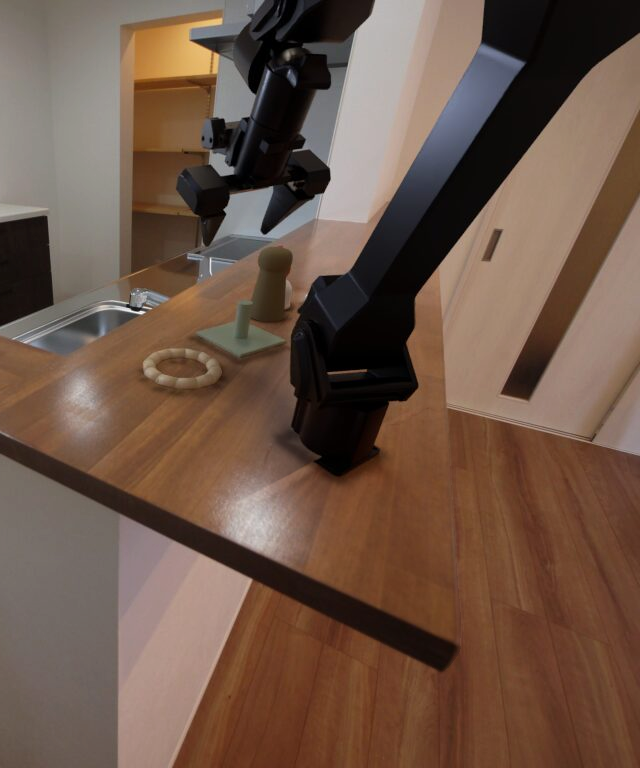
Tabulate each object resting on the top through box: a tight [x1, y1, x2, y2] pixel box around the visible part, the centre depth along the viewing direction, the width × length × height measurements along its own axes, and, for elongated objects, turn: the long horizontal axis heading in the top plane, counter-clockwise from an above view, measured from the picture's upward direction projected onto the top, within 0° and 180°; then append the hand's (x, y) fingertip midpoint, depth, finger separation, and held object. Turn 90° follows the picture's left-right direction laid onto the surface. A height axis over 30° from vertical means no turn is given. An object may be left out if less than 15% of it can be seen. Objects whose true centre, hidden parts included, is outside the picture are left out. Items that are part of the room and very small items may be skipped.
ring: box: [142, 347, 223, 390], centre depth 53 cm, size 10×10×2 cm
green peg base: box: [195, 299, 287, 359], centre depth 60 cm, size 9×9×6 cm
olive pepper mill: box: [250, 246, 294, 323], centre depth 69 cm, size 6×6×11 cm
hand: (234, 238), depth 59 cm, fingers open, 9 cm apart
